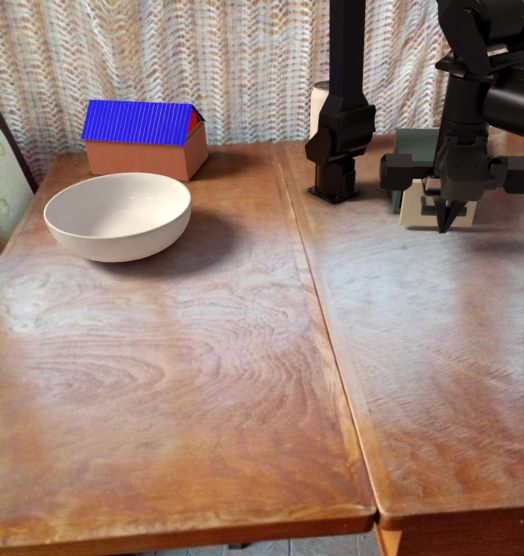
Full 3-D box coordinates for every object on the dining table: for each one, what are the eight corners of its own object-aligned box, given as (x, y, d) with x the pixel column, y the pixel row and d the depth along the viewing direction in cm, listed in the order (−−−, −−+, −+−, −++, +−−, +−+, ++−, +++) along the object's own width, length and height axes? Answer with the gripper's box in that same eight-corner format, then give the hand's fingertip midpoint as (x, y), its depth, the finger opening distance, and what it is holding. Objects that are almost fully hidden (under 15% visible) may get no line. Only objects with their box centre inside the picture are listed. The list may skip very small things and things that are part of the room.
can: (340, 156, 104) (345, 90, 96) (307, 155, 105) (309, 89, 97) (343, 144, 108) (348, 80, 100) (312, 143, 110) (313, 79, 102)
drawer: (475, 242, 77) (487, 198, 72) (401, 240, 78) (408, 196, 73) (459, 190, 89) (468, 149, 85) (395, 188, 91) (401, 148, 86)
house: (189, 182, 98) (180, 115, 90) (89, 174, 102) (73, 110, 94) (210, 156, 106) (203, 93, 98) (117, 150, 110) (104, 89, 103)
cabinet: (468, 215, 85) (481, 161, 79) (393, 213, 86) (400, 160, 80) (456, 178, 95) (467, 129, 89) (389, 177, 96) (395, 128, 90)
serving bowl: (173, 287, 73) (166, 242, 68) (31, 276, 76) (15, 232, 71) (211, 214, 88) (207, 173, 83) (91, 208, 91) (81, 168, 87)
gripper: (389, 139, 60) (374, 260, 70) (567, 142, 57) (525, 267, 68) (386, 107, 68) (373, 219, 78) (541, 108, 66) (507, 224, 76)
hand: (441, 232), depth 75 cm, fingers closed, pressing on drawer
